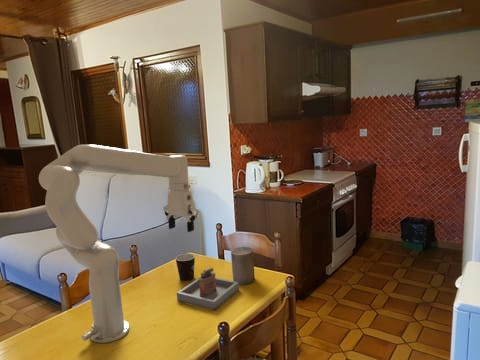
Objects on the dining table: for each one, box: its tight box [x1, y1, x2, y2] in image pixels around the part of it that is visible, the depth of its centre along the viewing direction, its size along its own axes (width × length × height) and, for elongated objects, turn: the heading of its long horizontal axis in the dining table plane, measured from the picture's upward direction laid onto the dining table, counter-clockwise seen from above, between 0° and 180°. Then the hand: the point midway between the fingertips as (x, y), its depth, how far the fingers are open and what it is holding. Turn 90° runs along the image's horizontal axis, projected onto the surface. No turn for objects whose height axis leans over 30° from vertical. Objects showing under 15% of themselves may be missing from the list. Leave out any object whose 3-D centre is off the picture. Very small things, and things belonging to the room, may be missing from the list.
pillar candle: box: [230, 246, 256, 286], centre depth 158 cm, size 10×10×15 cm
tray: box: [176, 276, 240, 312], centre depth 146 cm, size 18×18×4 cm
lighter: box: [197, 267, 217, 297], centre depth 146 cm, size 8×3×10 cm, turn 136°
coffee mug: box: [175, 253, 196, 282], centre depth 162 cm, size 12×9×10 cm
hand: (181, 229), depth 143 cm, fingers open, 9 cm apart
